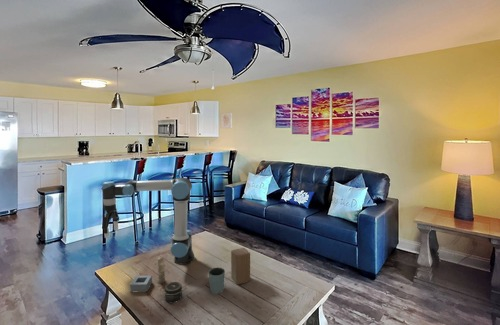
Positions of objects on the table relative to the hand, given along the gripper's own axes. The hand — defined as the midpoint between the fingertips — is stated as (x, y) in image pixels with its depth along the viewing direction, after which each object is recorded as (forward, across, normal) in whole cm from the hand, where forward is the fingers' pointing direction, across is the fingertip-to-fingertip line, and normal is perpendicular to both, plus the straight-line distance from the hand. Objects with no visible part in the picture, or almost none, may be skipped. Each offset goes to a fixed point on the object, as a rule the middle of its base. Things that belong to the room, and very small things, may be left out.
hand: (111, 233), depth 187 cm
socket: (+27, +22, +27) cm, 44 cm away
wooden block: (+28, +15, +90) cm, 95 cm away
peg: (+27, +16, +38) cm, 49 cm away
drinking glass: (+28, +25, +75) cm, 84 cm away
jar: (+28, +33, +50) cm, 66 cm away
